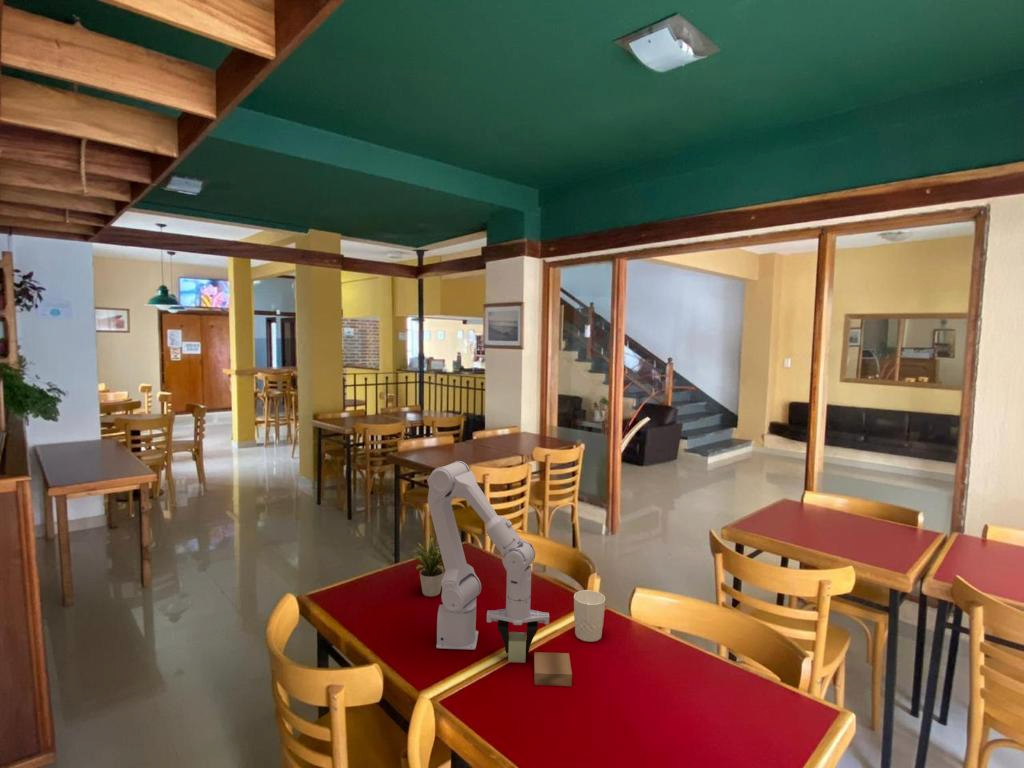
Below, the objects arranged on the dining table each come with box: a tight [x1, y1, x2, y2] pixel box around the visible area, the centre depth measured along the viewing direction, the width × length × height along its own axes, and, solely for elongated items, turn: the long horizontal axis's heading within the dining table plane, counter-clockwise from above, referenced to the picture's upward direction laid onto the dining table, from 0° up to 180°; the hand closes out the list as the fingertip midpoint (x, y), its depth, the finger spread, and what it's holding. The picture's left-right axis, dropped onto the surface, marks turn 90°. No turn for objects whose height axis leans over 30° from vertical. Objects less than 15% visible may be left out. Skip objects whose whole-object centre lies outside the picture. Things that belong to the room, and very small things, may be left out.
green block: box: [507, 631, 527, 664], centre depth 125 cm, size 4×4×5 cm
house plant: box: [412, 536, 445, 597], centre depth 155 cm, size 14×14×16 cm
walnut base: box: [533, 651, 573, 687], centre depth 119 cm, size 8×8×3 cm
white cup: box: [573, 589, 606, 643], centre depth 135 cm, size 8×8×10 cm
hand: (517, 651), depth 125 cm, fingers closed on green block, 4 cm apart
